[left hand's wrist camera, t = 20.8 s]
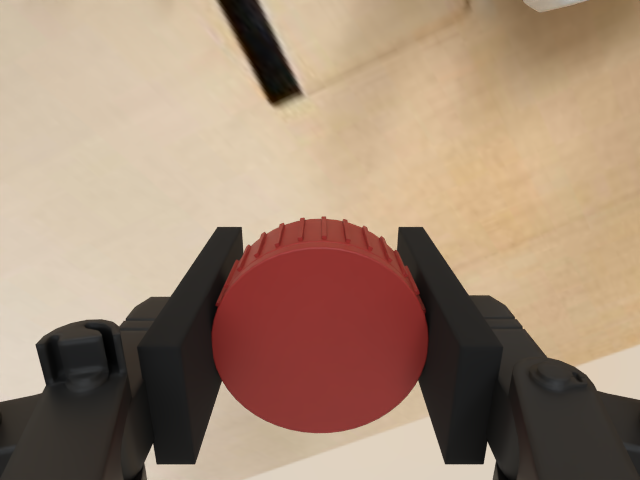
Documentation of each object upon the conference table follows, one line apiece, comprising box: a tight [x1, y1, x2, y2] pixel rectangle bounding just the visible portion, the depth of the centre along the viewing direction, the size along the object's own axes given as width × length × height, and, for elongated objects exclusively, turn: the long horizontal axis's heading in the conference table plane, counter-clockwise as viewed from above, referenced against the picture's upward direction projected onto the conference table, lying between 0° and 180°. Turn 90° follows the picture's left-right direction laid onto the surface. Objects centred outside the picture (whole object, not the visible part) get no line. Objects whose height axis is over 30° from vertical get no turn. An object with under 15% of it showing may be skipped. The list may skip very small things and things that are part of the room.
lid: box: [211, 217, 429, 433], centre depth 11 cm, size 5×5×2 cm
